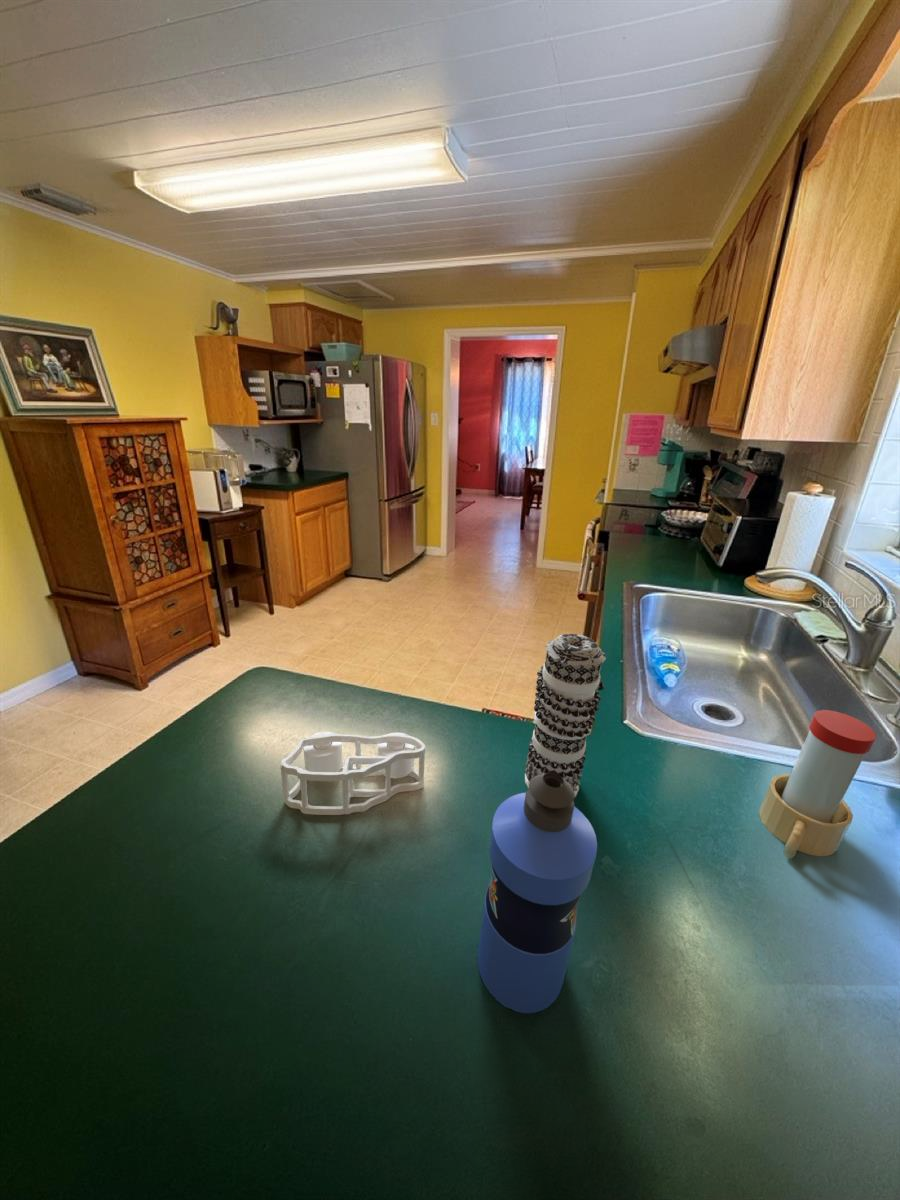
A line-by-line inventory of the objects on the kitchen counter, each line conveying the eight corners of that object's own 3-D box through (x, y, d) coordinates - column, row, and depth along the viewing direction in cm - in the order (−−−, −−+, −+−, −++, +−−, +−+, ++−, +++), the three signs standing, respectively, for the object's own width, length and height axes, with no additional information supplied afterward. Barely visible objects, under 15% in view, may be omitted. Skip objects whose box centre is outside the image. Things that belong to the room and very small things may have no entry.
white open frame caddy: (424, 761, 77) (425, 724, 74) (423, 815, 67) (425, 775, 64) (299, 759, 76) (296, 722, 73) (279, 815, 65) (275, 774, 63)
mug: (766, 794, 74) (778, 764, 72) (840, 831, 68) (856, 799, 66) (745, 841, 66) (758, 809, 63) (827, 887, 60) (845, 854, 57)
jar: (802, 809, 71) (848, 710, 64) (835, 846, 65) (890, 742, 58) (761, 808, 71) (802, 709, 64) (790, 845, 65) (839, 740, 58)
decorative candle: (540, 753, 80) (562, 620, 70) (591, 782, 75) (622, 642, 65) (510, 781, 74) (530, 640, 64) (563, 815, 68) (593, 665, 58)
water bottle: (467, 996, 47) (489, 807, 37) (485, 907, 55) (507, 734, 45) (562, 1029, 45) (612, 838, 35) (567, 932, 53) (608, 756, 43)
